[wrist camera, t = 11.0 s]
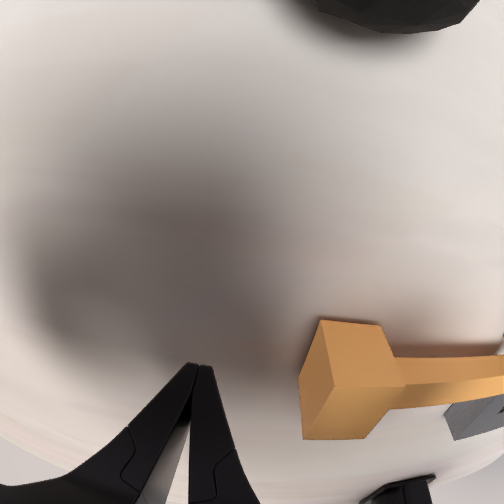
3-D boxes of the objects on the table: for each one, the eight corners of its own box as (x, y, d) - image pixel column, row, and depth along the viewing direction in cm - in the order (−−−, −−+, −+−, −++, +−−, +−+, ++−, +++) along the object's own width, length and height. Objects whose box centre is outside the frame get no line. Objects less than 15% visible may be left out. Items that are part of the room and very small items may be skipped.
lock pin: (485, 375, 12) (505, 413, 9) (297, 378, 12) (302, 439, 9) (515, 331, 11) (542, 369, 8) (320, 319, 10) (334, 386, 7)
